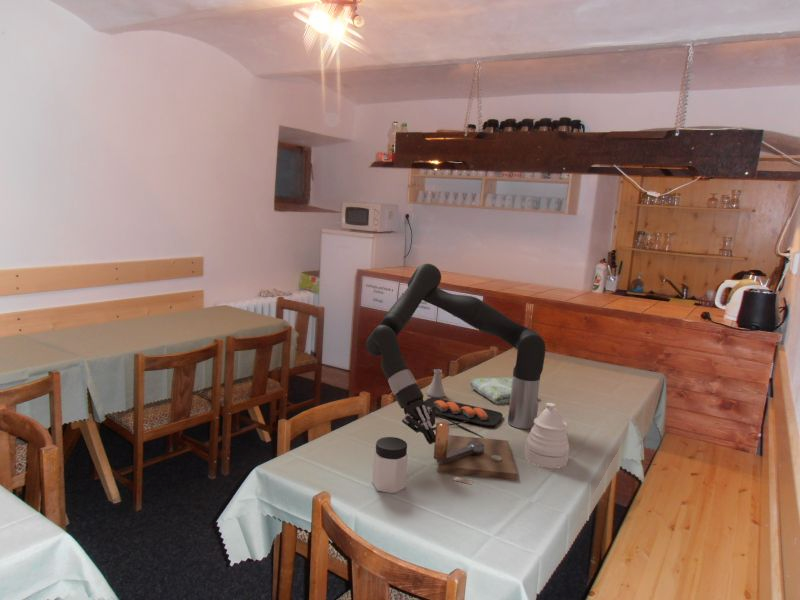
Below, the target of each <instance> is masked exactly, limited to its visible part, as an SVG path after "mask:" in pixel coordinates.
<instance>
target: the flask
mask: <svg viewBox="0 0 800 600" xmlns="http://www.w3.org/2000/svg"><path fill="white" fill-rule="evenodd" d="M433 372H434V373H433V378H432V381H431V383H430V385H429V387H428V389H427V392H426V394H427V396H428V397H430V398H439V399H442V398H443V397H445V396H446V395H445V390H444V386H443V383H442V373H443V371H442V369H438V368H437V369H435V368H434V369H433Z"/></svg>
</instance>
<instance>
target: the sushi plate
mask: <svg viewBox="0 0 800 600" xmlns="http://www.w3.org/2000/svg"><path fill="white" fill-rule="evenodd" d="M424 402H425V403H426V404H427V406H428V407H430V408H432V407H434V408H435V415H437V416H439V417H441V418H443V419H445V420H446V421H448V422H450V423H448V424H449V427H450V426H458V427H460V428H461V429H462V430H464V431H466V432H468V433H471V434H473V435H475V436H477V437H479V438H485V437H484V436H482V435H480V434H479V433H477V432H475V431H473V430H470V429H469V428H467V427H464V426H462V425H460V424H463V423H467V422H469V423H473V424H477V425H481V426H486V427H487V426H488V427H494V426H496V425H497V424H498V423H499V422H500V421H501V420H502V418H503V415H504V414H503V413H502V412H500V411H496V410H493V409H488V408H484V407H479V406H474V405H470V404H466V403H461V402H456V401H452V400H447V399H444V398H443V399H442V398H436V397H428V398H426V399H425V400H424ZM447 417H448V418H447ZM449 418H450V419H449ZM451 419H455V420H460V421H458V422H455V421H452V420H451ZM432 429H433V431H434V430H436V426H435V427H434V426H433V427H432Z"/></svg>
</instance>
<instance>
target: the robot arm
mask: <svg viewBox="0 0 800 600" xmlns="http://www.w3.org/2000/svg"><path fill="white" fill-rule="evenodd" d="M441 281H442V273H441V271H440V269H439V268H438V267H437V266H436V265H434V264H431V263H423V264H420V265H419V266H418V267H417V268H416V269H415V270H414V272H413V274H412V275H411V277H409V280H408V282H407V288H406V290H405V291H403V293H402V295H400V297H399V298H398V299H397V300H396V301H395V302H394V304H393V305H392V306H391V307H390V308H389V310H388V311H387V313H386V314H385V315H384V317H382V318H383V319H382V320H381V322H380V323H379V324H378V326H376V327H375V328H374V329H373V331H372V332H371V333H370V335H369V336H368V337H367V339H366V342H365V348H366V350H367V352H368V353H369V354H370V355H371V356H374V357H380V356H381V357H382V359H381V364H380V368H381V370H382V372H383V375H385V377H386V378H385V379H386V380H387V381H388V384H389V387H390V389H391V392H392V394H393V395H394V397H395V399H396V401H397V403H398V405H399V407H400V409H403V413H404V417H403V418H402V419H401V422H402V424H403V425H405V426H407V427H408V428H410V429H411V430H412V431H414V432H415V433H421V434H423V436H424V439H425V440H426V442H427V443H428V445H432V444H435V435H436V432H434V430H433V429H432V428H434V425H435V424H436V414H435V408H434V407H432V408H430V407H428V406H427V404H426V403H425V402H424V401H425V400H424V393H423V392H422V390H421V387H420V386H419V384H418V382H417V380H416V379H415V377H414V375H413V373H412V372H411V371H410V369H409V367H408V365H407V363H406V362H405V360H404V358H403V354H402V350H401V346H400V343H399V340H398V335H399V334H400V333H401V332H402V331H403V330H404V328H405V327H406V326H407V325H408V323H410V320H411V318H412V317H413V315H414V314H415V312H416V310H417V309H418V308H419V306H420V305H421V304H422V302H423V301H424V302H426V303H428V304H431V305H433V306H435V307H437V308H439V309H441V310H443V311H444V312H447V313H448V314H450V315H452V316H454V317H456V318H458V319H460V320H461V321H463V322H464V323H465V324H467V325H469V326H471V327H473V328H474V329H476V330H479V331H481V332H483V333H485V334H488V335H491V336H496V337H497V338H499V339H502V340H503V341H504V342H506V343H507V344H509V345H511V347H513V348H514V349H516V350H517V352H516V361H515V365H514V367H513V370H512V371H513V372H512V377H511V378H512V387H511V396H510V403H509V406H508V415H507V424H509V425H510V426H512V427H513V428H515V429H516V428H517V429H522V430H529V429H530V430H531V429H532V427H533V426H534V419H535V418H537V417H538V411H539V403H540V402H539V400H538V398H539V390H540V389H539V388H540V380H541V374H542V372H543V370H544V364H545V357H546V341H545V340H544V339H543V337H542V336H541V335H540V334H539V333H538V332H537V331H535V330H533V329H532V328H529V327H526V326H525V325H522V324H520V323H518V322H515V321H514V320H511V319H510V318H509V317H507V316H506V315H505V314H504V313H502V312H501V311H499V310H497V308H495V307H493V306H491V305H490V304H488V303H486V302H485V301H483V300H481V299H480V298H477V297H475V296H472V295H465V294H456V293H451V292H447V291H445V290H442V289H441V288H439V285H440V284H441Z"/></svg>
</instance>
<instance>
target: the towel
mask: <svg viewBox="0 0 800 600" xmlns="http://www.w3.org/2000/svg"><path fill="white" fill-rule="evenodd" d="M512 378H513V377H508V376H506V377H476V378H474V379H472V380H471V382H470V387H471V388H472V389H474V390H475V391H476V392H478V393H479V395H481V396H484V397H485V398H486V399H487V400H489V401H491V402H492V403H493V404H495V405H501V404H502V405H503V404H510V396H511V387H512Z"/></svg>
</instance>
